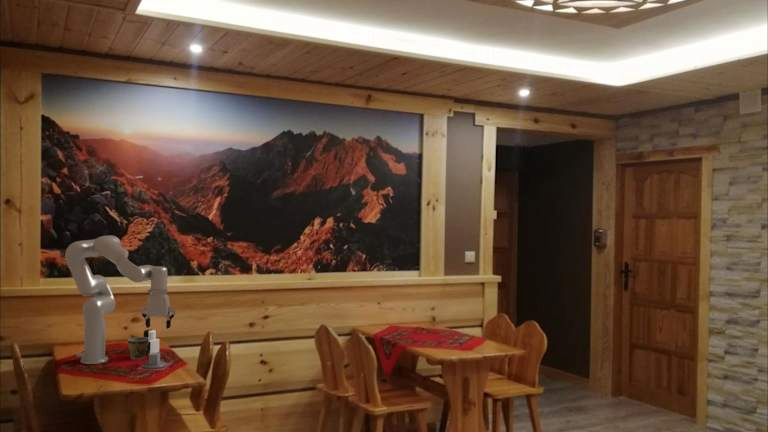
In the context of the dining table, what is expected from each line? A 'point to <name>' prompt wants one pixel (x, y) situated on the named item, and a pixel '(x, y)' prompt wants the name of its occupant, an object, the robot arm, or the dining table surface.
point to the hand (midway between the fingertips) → (158, 327)
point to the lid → (154, 362)
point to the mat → (154, 369)
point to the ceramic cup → (138, 347)
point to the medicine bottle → (151, 342)
